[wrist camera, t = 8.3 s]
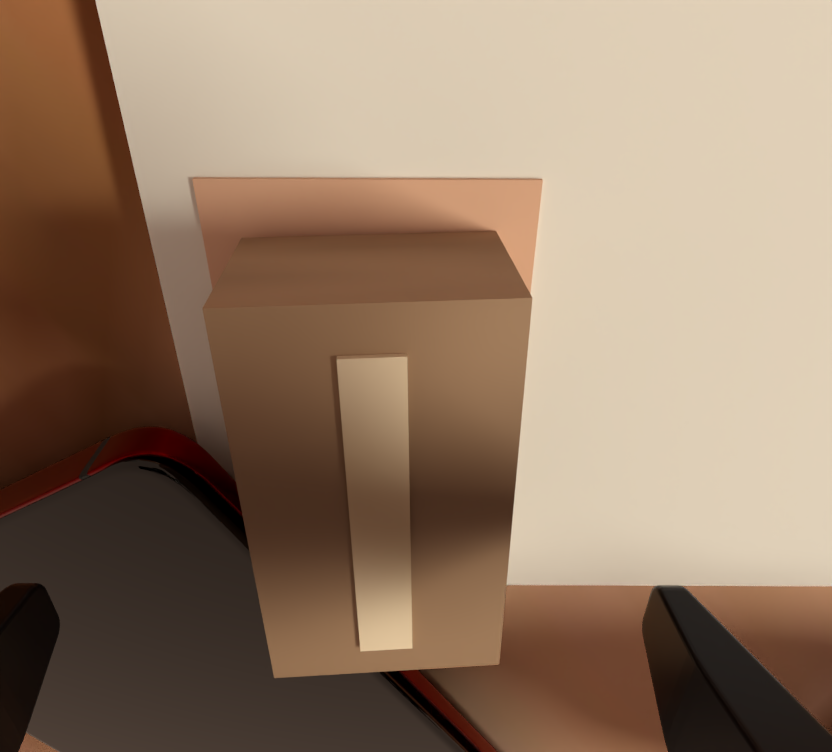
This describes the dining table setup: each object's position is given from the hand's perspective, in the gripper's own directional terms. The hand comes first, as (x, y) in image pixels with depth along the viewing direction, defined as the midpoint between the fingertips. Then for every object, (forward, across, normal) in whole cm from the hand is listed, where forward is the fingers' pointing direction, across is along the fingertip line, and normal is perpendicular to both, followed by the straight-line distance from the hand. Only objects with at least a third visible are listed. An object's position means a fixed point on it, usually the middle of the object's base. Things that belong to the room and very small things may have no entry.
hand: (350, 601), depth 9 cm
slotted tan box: (+4, 0, 0) cm, 5 cm away
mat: (+6, -5, -1) cm, 7 cm away
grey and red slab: (+5, +3, +13) cm, 15 cm away
